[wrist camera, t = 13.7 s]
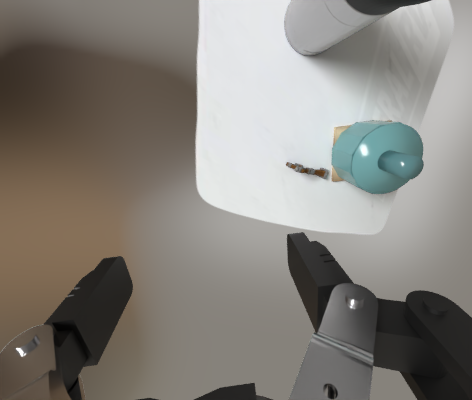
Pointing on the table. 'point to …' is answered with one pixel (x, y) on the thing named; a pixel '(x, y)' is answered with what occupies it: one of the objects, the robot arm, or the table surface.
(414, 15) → the table surface
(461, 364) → the robot arm
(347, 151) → the teal lid with knob
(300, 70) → the table surface
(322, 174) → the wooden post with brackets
